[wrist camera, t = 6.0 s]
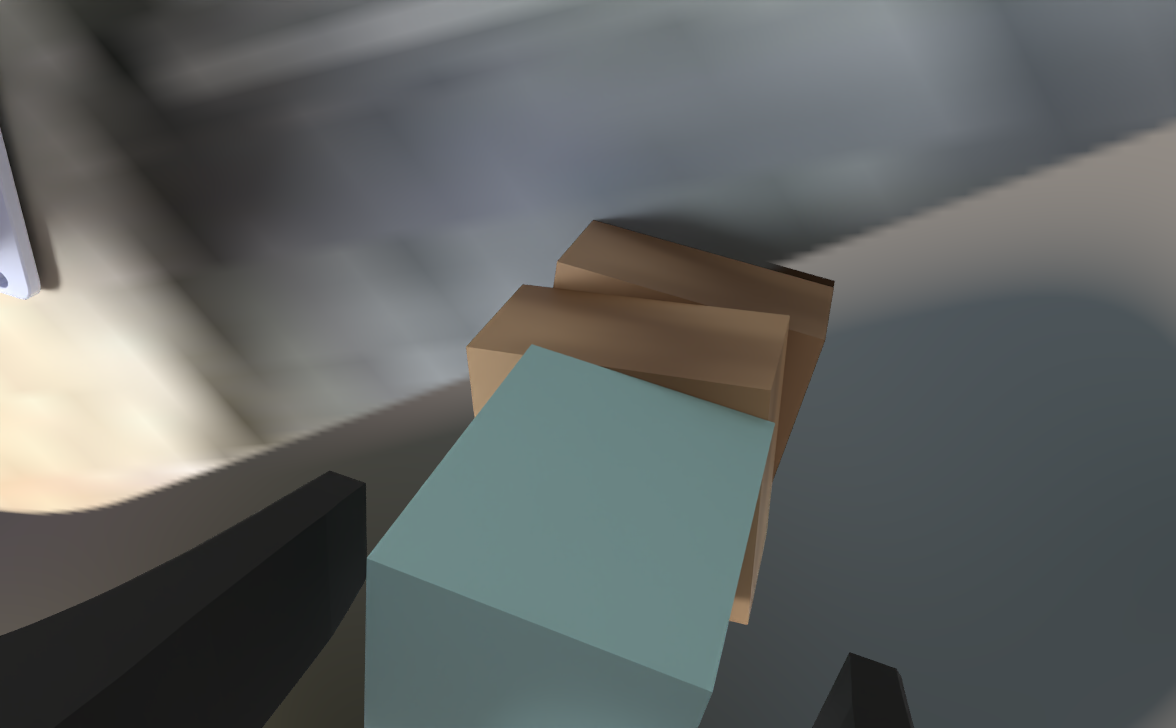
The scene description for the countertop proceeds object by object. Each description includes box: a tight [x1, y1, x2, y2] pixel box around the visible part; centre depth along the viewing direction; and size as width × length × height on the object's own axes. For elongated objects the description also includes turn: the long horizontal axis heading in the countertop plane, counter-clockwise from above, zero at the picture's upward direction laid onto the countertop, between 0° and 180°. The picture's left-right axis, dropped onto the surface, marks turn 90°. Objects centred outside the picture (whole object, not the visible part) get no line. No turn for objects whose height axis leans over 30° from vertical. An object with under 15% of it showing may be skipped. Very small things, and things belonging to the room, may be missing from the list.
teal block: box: [364, 344, 775, 728], centre depth 12 cm, size 4×4×5 cm
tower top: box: [466, 284, 790, 625], centre depth 15 cm, size 5×5×2 cm
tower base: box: [553, 220, 835, 482], centre depth 17 cm, size 5×5×2 cm
